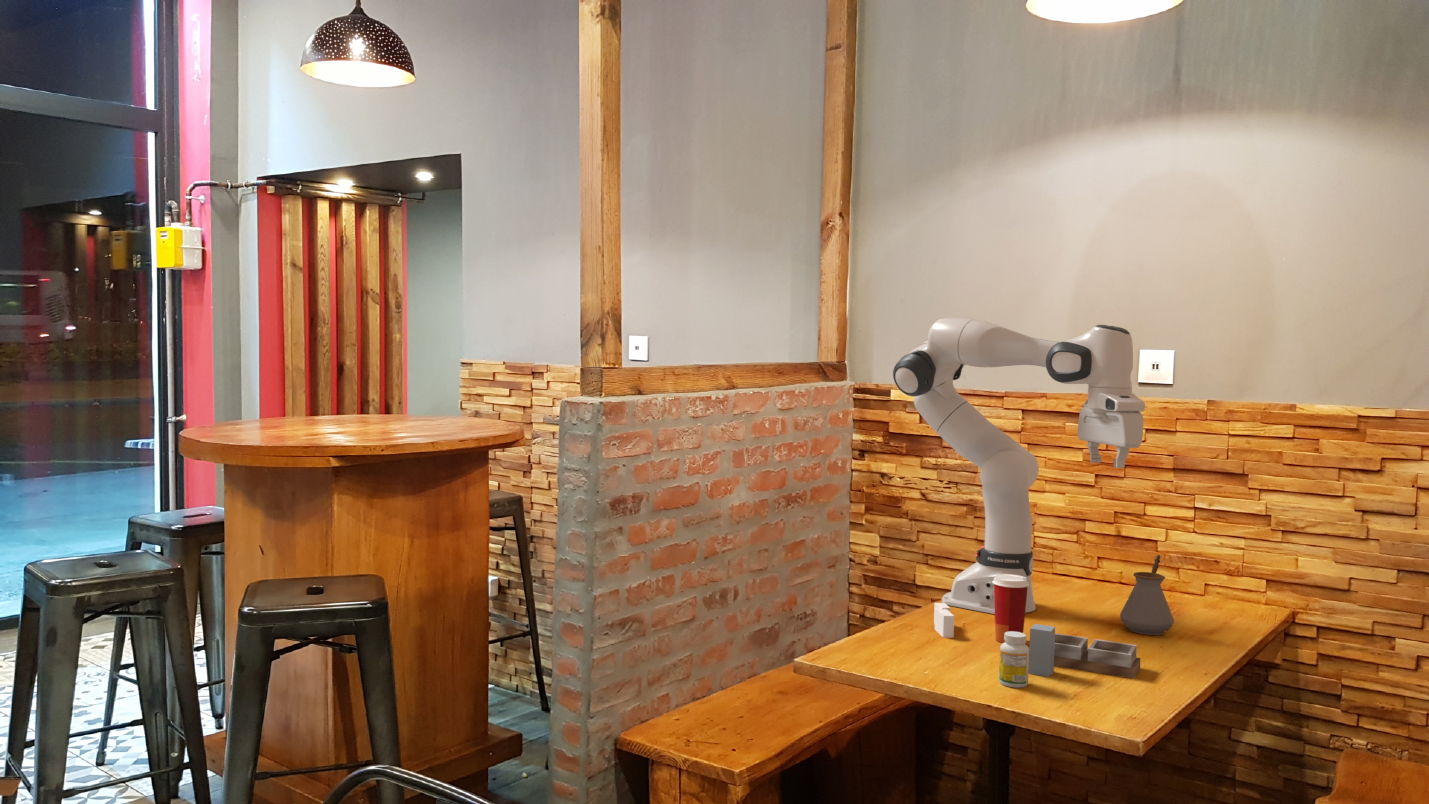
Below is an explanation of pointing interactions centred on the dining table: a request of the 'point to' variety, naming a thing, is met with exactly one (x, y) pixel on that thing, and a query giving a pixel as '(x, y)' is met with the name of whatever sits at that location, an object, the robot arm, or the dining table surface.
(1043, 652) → the gray rectangular block
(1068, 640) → the two-compartment tray
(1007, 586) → the paper cup
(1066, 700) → the dining table surface
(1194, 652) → the dining table surface
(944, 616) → the white notched slab
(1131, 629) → the coffee pot
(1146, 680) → the dining table surface
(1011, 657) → the supplement bottle
